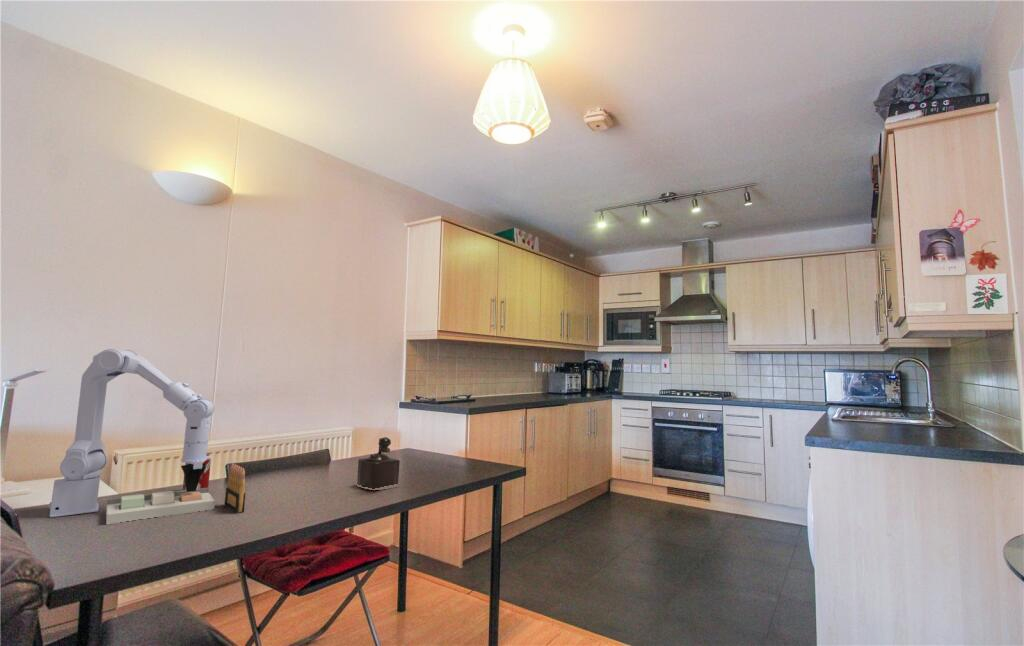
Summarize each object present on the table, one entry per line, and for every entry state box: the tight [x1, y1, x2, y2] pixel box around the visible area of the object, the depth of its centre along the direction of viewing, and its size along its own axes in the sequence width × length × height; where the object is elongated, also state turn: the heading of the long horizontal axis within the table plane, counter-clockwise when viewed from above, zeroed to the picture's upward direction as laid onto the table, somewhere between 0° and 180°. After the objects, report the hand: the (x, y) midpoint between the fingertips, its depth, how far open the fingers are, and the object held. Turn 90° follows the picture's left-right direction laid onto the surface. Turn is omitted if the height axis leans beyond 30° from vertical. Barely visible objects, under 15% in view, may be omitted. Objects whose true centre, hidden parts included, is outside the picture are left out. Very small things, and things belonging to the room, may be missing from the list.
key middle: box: [151, 490, 174, 506], centre depth 130 cm, size 5×5×3 cm
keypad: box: [105, 487, 216, 525], centre depth 129 cm, size 23×12×4 cm, turn 131°
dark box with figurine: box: [356, 436, 401, 489], centre depth 162 cm, size 16×11×18 cm
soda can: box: [182, 452, 212, 491], centre depth 149 cm, size 7×7×12 cm
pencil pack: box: [223, 462, 246, 514], centre depth 134 cm, size 11×2×12 cm, turn 47°
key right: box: [180, 492, 202, 502], centre depth 134 cm, size 5×5×3 cm
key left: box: [120, 493, 145, 510], centre depth 125 cm, size 5×5×3 cm
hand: (191, 490), depth 134 cm, fingers closed
